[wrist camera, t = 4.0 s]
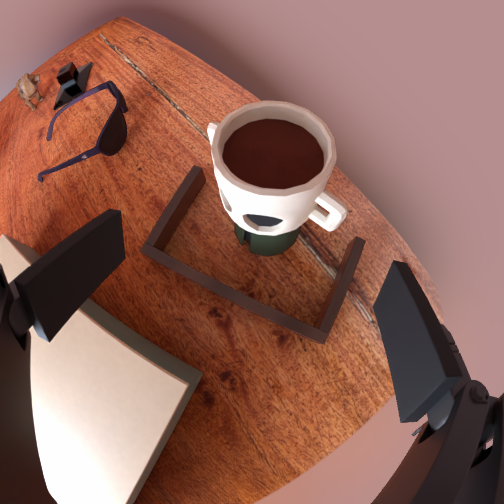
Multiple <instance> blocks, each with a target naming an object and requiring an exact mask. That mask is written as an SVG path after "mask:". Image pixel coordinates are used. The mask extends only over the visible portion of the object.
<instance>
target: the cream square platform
mask: <svg viewBox="0 0 504 504" xmlns="http://www.w3.org/2000/svg"><path fill="white" fill-rule="evenodd" d="M40 257H41V256H40V255H39V254H38V253H37V252H36V251H35V250H34V249H33V248H31V247H29V246H27V245H25V244H23V243H21V242H19V241H17V240H15V239H13V238H11V237H9V236H7V235H5V234H3V233H2V235H1V238H0V263H1V265H2V267H3V270H4V273H5V275H6V278H7V281H8V284H9V283H10V282H11V281H12V280H13V279H14V278H16V277H17V276H18V275H19V274H20V273H21V272H23V271H24V270H25V269H26V268H27V267H29V266H31V264H32V263H33V262H35V261H37V259H38V258H40ZM29 331H30V333H31V396H32V409H33V418H34V426H35V433H36V440H37V445H38V451H39V456H40V460H41V465H42V469H43V473H44V477H45V481H46V484H47V488H48V490H49V492H50V494H51V495H52V496H53V497H54V499H55V500H56V501H57V502H58V504H133V503H134V502H135V500H136V498H137V496H138V494H139V493H140V491H141V489H142V487H143V485H144V484H145V482H146V480H147V478H148V476H149V475H150V473H151V471H152V469H153V467H154V465H155V464H156V462H157V460H158V458H159V456H160V454H161V452H162V451H163V449H164V447H165V445H166V443H167V441H168V440H169V438H170V436H171V434H172V432H173V430H174V428H175V426H176V425H177V423H178V421H179V419H180V417H181V415H182V413H183V411H184V410H185V408H186V406H187V404H188V402H189V400H190V398H191V396H192V394H193V393H194V391H195V389H196V387H197V385H198V383H199V381H200V379H201V377H202V375H203V374H204V373H203V372H201V371H200V370H198V369H196V368H194V367H192V366H190V365H189V364H187V363H185V362H183V361H182V360H180V359H178V358H177V357H175V356H173V355H171V354H170V353H168V352H166V351H165V350H163V349H162V348H160V347H158V346H157V345H155V344H154V343H152V342H150V341H149V340H147V339H146V338H144V337H143V336H141V335H140V334H138V333H137V332H135V331H134V330H132V329H131V328H129V327H128V326H126V325H125V324H124V323H122V322H121V321H119V320H118V319H116V318H115V317H114V316H112V315H111V314H110V313H108V312H107V311H105V310H104V309H103V308H101V307H100V306H99V305H98V304H96V303H95V302H94V301H92V300H91V299H90V298H88V299H87V300H86V301H85V302H84V303H83V304H82V305H81V306H80V307H79V309H78V310H77V311H76V312H75V313H74V314H73V315H72V317H71V318H70V319H69V320H68V321H67V322H66V324H65V325H64V326H63V327H62V328H61V330H60V331H59V332H58V333H57V334H56V336H55V337H54V338H53V339H52V341H51V342H50V343H49V342H47V341H46V340H44V339H42V338H40V337H39V336H38V335H37V333H36V331H35V329H34V327H33V326H32V327H31V328H30V329H29Z"/></svg>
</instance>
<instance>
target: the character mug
mask: <svg viewBox="0 0 504 504" xmlns="http://www.w3.org/2000/svg"><path fill="white" fill-rule="evenodd" d="M207 132H208V136H209V141H210V145H211V155H212V159H213V164H214V173H215V176H216V180H217V183H218V186H219V192H220V197H221V200H222V203H223V205H224V208H225V210H226V211H227V212H228V214H229V215H230V217H231V218H232V219H233V220H234V221H235V233H236V236H237V238H238V240H239V242H240V244H241V245H243V239H244V238H245V239H246V241H247V242H248V243H249V244H250V252H252V253H253V254H257V255H262V256H267V257H268V256H272V255H277V254H281V253H283V252H284V251H286V250H287V249H288V248H289V247H290V246H292V245H293V244H294V243H295V241H296V239H297V236H298V234H299V232H300V228H301V225H302V224H303V223H304V222H306V221H307V220H308V219H312V220H313V221H314V222H316V223H317V224H318V225H320V226H321V227H322V228H324V229H326V230H327V231H329V232H330V231H333V230H335V229H337V228H338V227H339V225H340V224H341V223H342V221H343V220H344V219H345V217H346V216H347V206H346V205H345V204H344V203H343V202H342V201H341V200H340V199H338V198H337V197H336V196H334V195H333V194H331V193H330V192H329V191H327V190H326V189H325V186H326V184H327V182H328V180H329V177H330V175H331V173H332V171H333V168H334V166H335V164H336V160H337V154H336V142H335V138H334V137H333V135H332V133H331V131H330V130H329V128H328V127H327V125H326V123H325V122H324V121H323V120H321V119H320V118H319V117H318V116H316V115H315V114H314V113H312V112H311V111H310V110H308V109H306V108H303V107H300V106H297V105H295V104H292V103H289V102H281V101H267V100H266V101H261V102H256V103H251V104H246V105H244V106H242V107H240V108H238V109H236V110H234V111H233V112H231V113H229V114H227V115H226V117H225V118H224V119H223V120H222V122H221V123H218V122H211V123H209V126H208V129H207ZM317 204H319V205H321V206H322V207H324V208H325V209H326V210H328V211H329V212H330V213H329V214H327V213H326V212H325V211H323V210H322V209H320V208H319V207H318V206H317Z"/></svg>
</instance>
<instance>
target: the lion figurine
mask: <svg viewBox="0 0 504 504" xmlns="http://www.w3.org/2000/svg"><path fill="white" fill-rule="evenodd" d="M38 83H40V74H37V75H29V74H28V73H27V74H25V75H24V76H22V78H21V79H20V80H18V82H17V84H16V87H17V90H18V95H19V97H20V98H21V99H23V100H24V101H25V105H28V106H30V107H31V110H32V111H34V110H35V109H36V106H35V105H34V104H33V103H32V102H31V100H30V99H32V98H33V97H35V96H36V97H37V100H38V101H42V100H43V99H44V96H43V97H41V96H40V94H39V92H38V90H37V88H38V87H37V84H38Z"/></svg>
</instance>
